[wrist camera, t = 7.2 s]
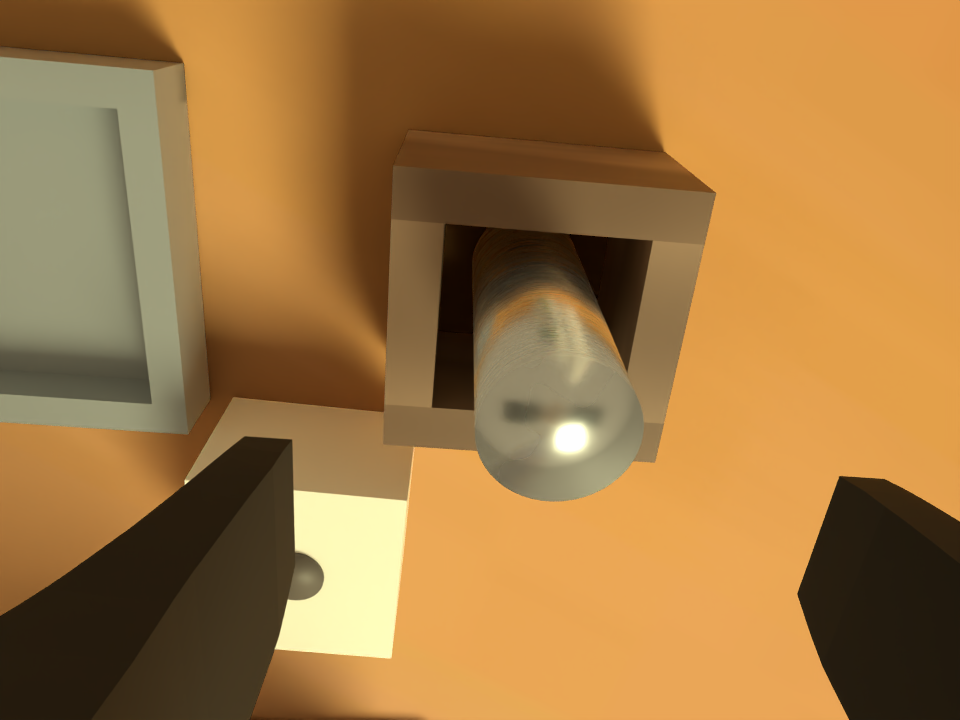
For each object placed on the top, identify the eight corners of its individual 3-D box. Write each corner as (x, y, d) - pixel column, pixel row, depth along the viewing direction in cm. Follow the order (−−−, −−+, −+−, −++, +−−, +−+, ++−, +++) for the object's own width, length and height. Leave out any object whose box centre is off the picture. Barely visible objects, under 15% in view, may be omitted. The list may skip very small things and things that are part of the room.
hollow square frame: (621, 378, 20) (654, 462, 17) (398, 362, 20) (383, 444, 16) (665, 152, 18) (715, 193, 14) (408, 129, 17) (393, 165, 14)
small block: (403, 554, 23) (390, 661, 19) (237, 539, 23) (192, 645, 19) (417, 413, 21) (406, 503, 17) (234, 394, 20) (183, 482, 17)
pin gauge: (571, 313, 19) (632, 502, 12) (470, 310, 19) (472, 499, 12) (581, 214, 18) (654, 358, 11) (474, 210, 18) (477, 353, 11)
